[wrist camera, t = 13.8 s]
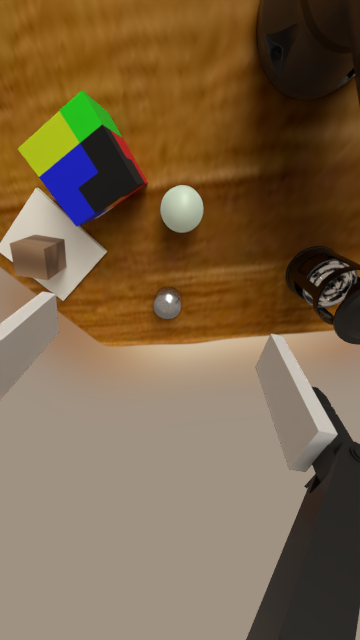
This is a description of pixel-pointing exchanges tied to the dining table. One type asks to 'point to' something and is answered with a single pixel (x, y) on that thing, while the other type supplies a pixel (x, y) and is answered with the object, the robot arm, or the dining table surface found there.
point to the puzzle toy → (83, 160)
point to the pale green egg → (182, 208)
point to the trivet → (54, 222)
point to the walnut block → (38, 256)
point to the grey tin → (167, 303)
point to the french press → (330, 289)
